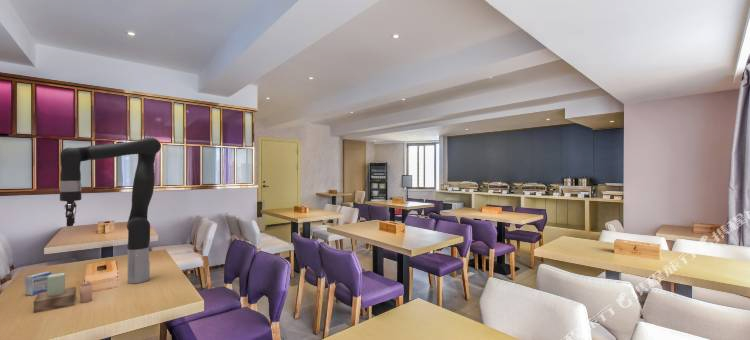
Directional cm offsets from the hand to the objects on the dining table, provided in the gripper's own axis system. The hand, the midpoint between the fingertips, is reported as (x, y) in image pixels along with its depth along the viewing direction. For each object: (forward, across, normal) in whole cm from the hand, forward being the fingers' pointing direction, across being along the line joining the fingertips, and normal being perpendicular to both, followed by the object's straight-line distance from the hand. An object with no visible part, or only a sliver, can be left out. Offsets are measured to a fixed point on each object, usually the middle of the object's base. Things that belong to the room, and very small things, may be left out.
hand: (70, 225), depth 155 cm
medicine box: (+32, +12, +12) cm, 37 cm away
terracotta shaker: (+32, -16, -6) cm, 36 cm away
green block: (+28, -13, +4) cm, 30 cm away
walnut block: (+33, -13, +4) cm, 35 cm away
